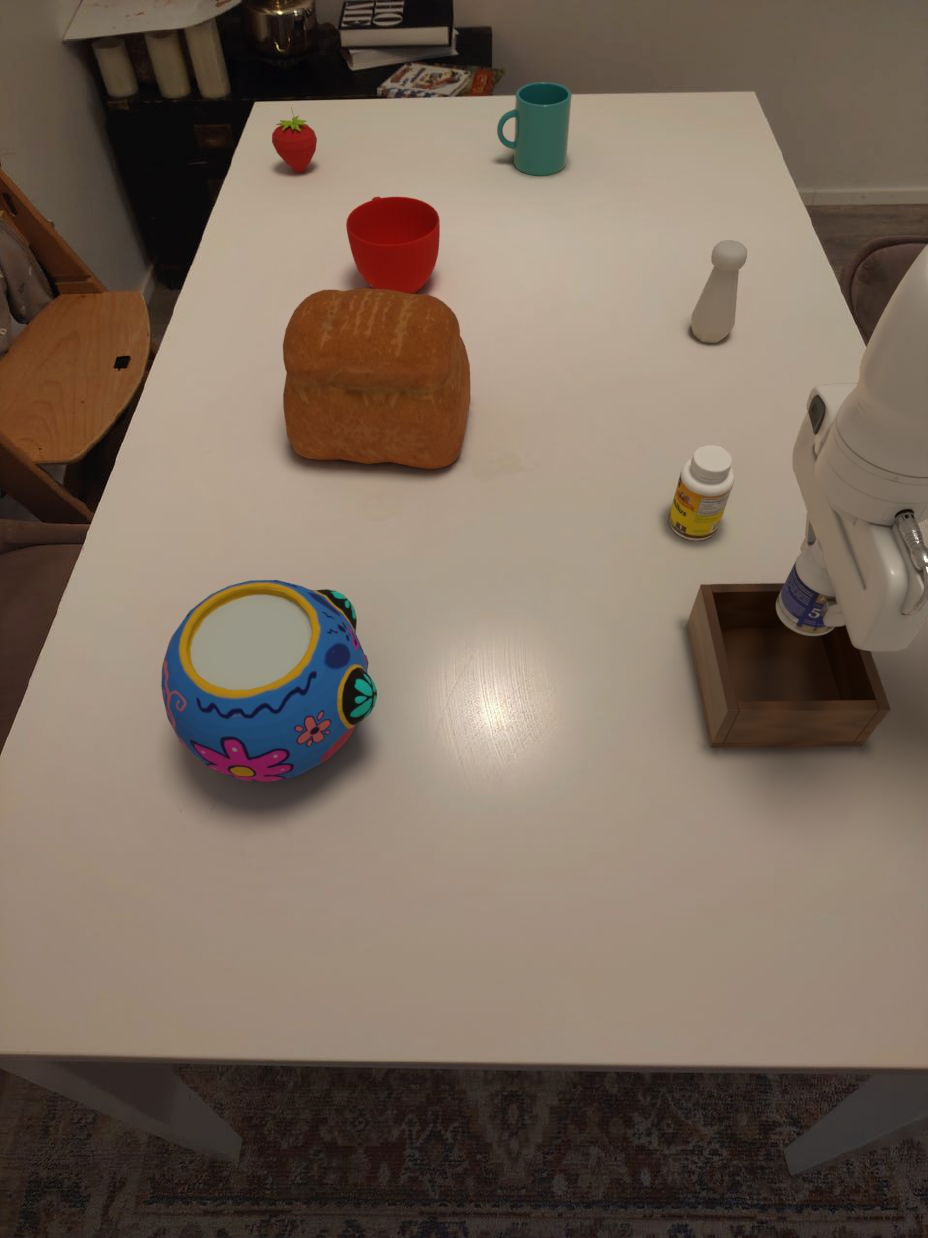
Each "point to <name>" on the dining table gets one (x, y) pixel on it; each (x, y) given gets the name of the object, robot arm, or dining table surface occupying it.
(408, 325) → the bread
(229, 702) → the ceramic pot
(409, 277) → the ceramic cup
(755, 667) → the box
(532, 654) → the dining table surface
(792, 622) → the pill bottle
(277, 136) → the strawberry
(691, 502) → the supplement bottle
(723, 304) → the salt shaker
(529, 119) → the cup
